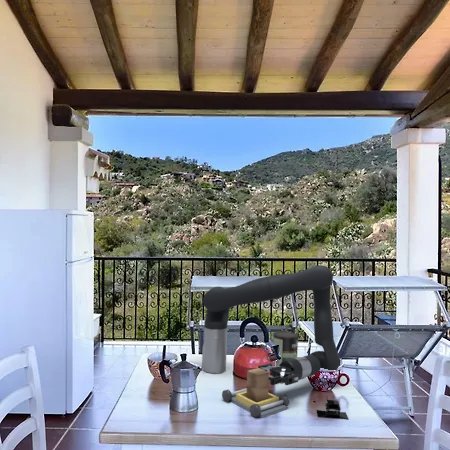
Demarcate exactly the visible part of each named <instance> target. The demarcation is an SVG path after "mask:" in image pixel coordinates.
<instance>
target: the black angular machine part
mask: <svg viewBox="0 0 450 450" xmlns="http://www.w3.org/2000/svg"><path fill="white" fill-rule="evenodd" d="M324 407H325V408H324V409H325V410H322V409H316V414H317V418H319V419H320V418H321V419H322V418H323V419H335V420H348V421H349V416H348V414H347V412H346V411H341V405H340V403H339V400H333V399H326V401H325V403H324Z"/></svg>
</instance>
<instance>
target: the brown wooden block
mask: <svg viewBox="0 0 450 450" xmlns="http://www.w3.org/2000/svg"><path fill="white" fill-rule="evenodd" d="M246 372H247V373H246V374H247V375H246V377H247V378H246V388H247V398H248V399H250V400H252V401H254V402H256V403H257V402H260V401H264V400H267V399H268V393H269V385H270V381H269V380H270V377H269V374H270V372H267V371H265V370H262V369H260V368H258V367H257V368H253V369H248V370H247V371H246Z"/></svg>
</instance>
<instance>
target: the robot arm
mask: <svg viewBox="0 0 450 450" xmlns="http://www.w3.org/2000/svg"><path fill="white" fill-rule="evenodd" d="M333 280H334V274H333V272H332V270H331V269H330V268H329V267H327V266H326V265H322V264H321V265H314V266H312V267H310V268H307V269H304V270H301V271H297V272H292V273H282V274H274V275H273V274H272V275H268V276H263V277H259V278H256V279H253V280H249V281H247V282H245V283H242V284H239V285H236V286H232V287H225V288H224V287H222V286H215V287H212V288H210V289H209V290H207V291H206V293H205V295H204V296H203V300H202V302H203V305H204V307H205V308H206V315H205V320H204V331H203V332H204V333H203V334H204V335H203V337H204V338H203V344H202V353H201V356H202V357H201V358H202V359H201V368H202V370H203V371H204V372H206V373H208V374H209V373H210V374H221V373H224V372H226V371H227V347H228V343H227V342H228V323H229V315H230V308H233V307H236V306H239V305H247V304H255V303H256V304H257V303H261V302H263V303H264V302H268V301H272V300H278V299H280V298H285V297H287V296H290V295H292V294H296V293H299V292H306V291H312V295H313V296H312V297H313V310H314V311H313V330H314V334H313V335H314V342H315V344H316V345H318V346H320V347H322V350H317V351H313V352H311V353H310V354H309V353H308V355H304V356H303V355H302V356H297V357H296V358H292V359H288V360H284V361H282V362H281V364H280V365H279V366H273V363H271V362H270V363H265V364H260V365H258V367H257V368H260V369H262V370H265V371H267V372H269V380H270V381H269V385H270V386H275V385H279V384H281V385H285V386H290V385H293V384H296V383H299V381H300V380H303V379H305V378H308V377H311V376H314V375H316V373H317V374H318V373H319V372H320V371H321V370H320V368H324V369H328V370H336V371H338V369H339V367H340V363H341V362H340V361H341V359H340V356H339V352H338V349H337V346H336V343H335V340H334V326H333V325H334V324H333V316H332V307H331V288H332V283H333ZM270 372H271V374H270Z"/></svg>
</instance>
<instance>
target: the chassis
mask: <svg viewBox="0 0 450 450" xmlns="http://www.w3.org/2000/svg"><path fill="white" fill-rule="evenodd" d="M221 398H222V399H223V401H224V402H225V403H227V402H231V403H232V404H235V405H236V406H238V407H240V408H242V409H243V410H246V411H247V412H249V413H250V415H251V416H252V418H258V417H259V418H260V419H264V418H267V417H269V416H271V414H272V415H275V414H277V413H280V412H283V411H286V410H287V407H289V406H290V399H289V397H288V396H287V395H286V394H282V395H280V396H278V395H275V394H272V393H270V392H268V399H267V400H264V401H260V402H257V403H256V402H254V401H252V400H250V399H248V398H247V387H246V388H243V389H239V390H235V391H231V390H230V389H224V390H222V392H221ZM274 413H275V414H274ZM268 415H269V416H268Z"/></svg>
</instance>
